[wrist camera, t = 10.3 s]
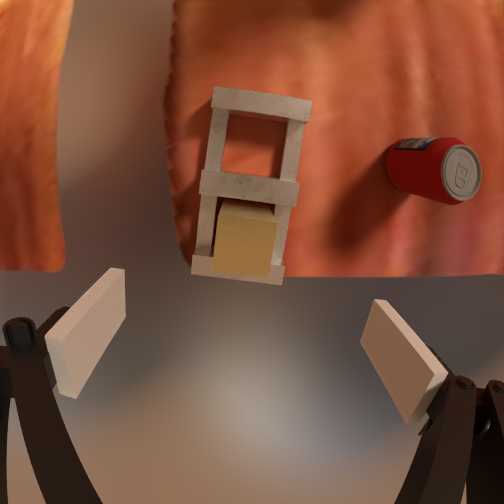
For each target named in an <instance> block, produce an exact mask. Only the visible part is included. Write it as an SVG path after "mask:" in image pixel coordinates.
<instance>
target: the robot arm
mask: <svg viewBox="0 0 504 504" xmlns="http://www.w3.org/2000/svg"><path fill="white" fill-rule="evenodd" d="M124 271H125V270H123V269H117V268H110V269H109V270H108V271H107V272H106V273H105V274H104V275H103V276H102V277H101V278H100V279H99V280H98V281H97V282H96V283H95V284H94V285H93V286H92V287H91V288H90V289H89V290H88V291H87V292H86V293H85V294H84V295H83V296H82V297H81V298H80V299H79V300H78V301H77V302H76V303H75V304H74V305H73V306H72V307H71V308H70V307H63V308H60V309H58V310H56V311H55V312H54V313H53V314H52V315H51V316H50V318H48V319H47V320H46V321H45V323H43V324H42V325H41V326H40V327H39V328H38V329H37V330H36V327H35V324H34V322H33V321H32V320H31V319H29V318H25V317H17V318H13V319H11V320H9V321H7V322H6V323H5V324H4V325H3V333H4V337H5V340H6V344H7V346H0V504H8V497H7V476H6V475H7V474H6V473H7V471H6V457H7V432H8V417H9V408H10V399H11V398H15V402H16V406H17V412H18V416H19V421H20V425H21V429H22V433H23V437H24V441H25V444H26V447H27V451H28V454H29V458H30V461H31V464H32V467H33V470H34V473H35V476H36V479H37V482H38V484H39V487H40V489H41V492H42V495H43V497H44V500H45V502H46V504H103V503H102V502H101V500H100V498H99V497H98V495H97V493H96V491H95V489H94V487H93V486H92V484H91V482H90V480H89V478H88V476H87V474H86V472H85V470H84V468H83V466H82V464H81V462H80V459H79V457H78V455H77V453H76V451H75V448H74V446H73V444H72V442H71V439H70V437H69V434H68V432H67V430H66V427H65V424H64V422H63V420H62V417H61V414H60V411H59V409H58V406H57V403H56V400H55V397H54V394H53V391H52V389H53V388H54V386H55V384H56V383H57V386H58V389H59V393H60V394H62V395H65V396H68V397H71V398H74V399H77V397H78V395H79V393H80V392H81V390H82V388H83V386H84V385H85V383H86V381H87V379H88V378H89V376H90V374H91V372H92V371H93V369H94V367H95V366H96V364H97V362H98V361H99V359H100V357H101V356H102V354H103V352H104V351H105V349H106V347H107V346H108V344H109V343H110V341H111V339H112V338H113V336H114V335H115V333H116V331H117V330H118V328H119V327H120V325H121V323H122V322H123V320H124V319H125V317H126V313H125V272H124ZM360 343H361V345H362V346H363V348H364V350H365V352H366V353H367V355H368V356H369V358H370V360H371V362H372V364H373V365H374V367H375V369H376V371H377V372H378V374H379V376H380V378H381V379H382V381H383V383H384V385H385V387H386V388H387V390H388V392H389V394H390V395H391V397H392V399H393V401H394V403H395V405H396V406H397V408H398V410H399V412H400V414H401V416H402V417H403V419H404V421H405V423H406V424H409V423H415V422H419V421H420V420H421V419H422V417H423V416H424V414H425V412H427V414H428V415H429V419H428V421H427V422H426V424H425V425H424V427H423V428H422V430H421V431H420V432H419V434H418V435H421V434H422V436H421V439H420V442H419V445H418V448H417V451H416V453H415V456H414V459H413V461H412V464H411V466H410V469H409V471H408V474H407V476H406V479H405V481H404V483H403V486H402V488H401V490H400V492H399V494H398V497H397V499H396V501H395V503H394V504H460V503H461V499H462V495H463V491H464V487H465V482H466V495H467V504H504V383H503V382H501V381H497V380H491V381H489V383H488V384H487V386H486V388H485V389H482V388H476V385H475V384H474V382H473V381H471V380H470V379H469V378H467V377H464V376H455V375H454V374H453V373H452V371H451V370H450V369H449V368H448V367H447V365H446V364H445V363H444V362H442V359H441V358H440V357H438V355H437V354H436V352H435V351H434V350H433V349H432V348H430V347H429V346H427V345H426V344H424V343H423V342H422V341H421V339H420V338H419V337H418V336H417V335H416V334H415V333H414V331H413V330H412V329H411V328H410V327H409V326H408V324H407V323H406V322H405V321H404V320H403V319H402V318H401V317H400V315H399V314H398V313H397V312H396V311H395V310H394V309H393V308H392V307H391V305H390V304H389V303H388V302H387V301H386V300H376V299H374V301H373V305H372V308H371V311H370V314H369V317H368V320H367V323H366V326H365V329H364V332H363V335H362V338H361V341H360ZM489 424H490V426H489V429H487V427H488V425H489Z"/></svg>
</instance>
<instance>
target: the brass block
mask: <svg viewBox="0 0 504 504" xmlns="http://www.w3.org/2000/svg"><path fill="white" fill-rule="evenodd" d="M277 225H278V222H277V221H276V219H275V217H274V215H273V213H272V212H271V210H270V208H269V206H268V205H267V204H260V203H253V202H245V201H238V200H230V199H224V201H223V204H222V206H221V209H220V212H219V214H218V221H217V230H216V238H215V247H214V256H213V265H212V271H215V272H223V273H231V274H239V275H248V276H256V277H264V278H268V277H269V272H270V266H271V260H272V254H273V248H274V242H275V237H276V231H277Z"/></svg>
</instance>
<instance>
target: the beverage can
mask: <svg viewBox="0 0 504 504" xmlns="http://www.w3.org/2000/svg"><path fill="white" fill-rule="evenodd" d="M385 166H386V172H387V175H388V178H389V180H390V181H391V183H392V184H393V185H394V186H395V187H396V188H398V189H399V190H402V191H405V192H408V193H411V194H414V195H418V196H421V197H425V198H428V199H431V200H435V201H438V202H442V203H445V204H449V205H456V204H459V203H462V202H463V201H466V200H469V199H470V198H472V197H473V196H474V195H475V194H476V192H477V191H478V189H479V186H480V183H481V175H482V173H481V165H480V161H479V159H478V157H477V155H476V153H475V152H474V151H473V150H472V149H471V148H469V147H468V146H467V145H466V144H464V143H463V142H462V141H460V140H458V139H456V138H411V139H401V140H399V141H397V142H395V143H394V144H393V145H392V146H391V147H390V149H389V151H388V153H387V156H386V162H385Z"/></svg>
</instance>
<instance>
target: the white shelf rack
mask: <svg viewBox="0 0 504 504" xmlns="http://www.w3.org/2000/svg"><path fill="white" fill-rule="evenodd" d="M311 107H312V101H308V100H304V99H299V98H293V97H288V96H282V95H277V94H271V93H264V92H257V91H250V90H243V89H235V88H226V87H216V86H214V90H213V96H212V102H211V108H212V110H213V113H212V119H211V126H210V133H209V140H208V147H207V154H206V161H205V169H202V172H201V180H200V188H199V194H201V202H200V211H199V220H198V230H197V240H196V248H195V251H194V253H193V256H192V268H191V274H195V275H201V276H210V277H217V278H225V279H233V280H242V281H250V282H258V283H267V284H276V285H282V280H283V275H284V270H285V264H284V262H283V259H282V257H283V252H284V246H285V241H286V235H287V229H288V224H289V218H290V212H291V206H292V207H296V203H297V197H298V191H299V185H300V183H298V182H296V176H297V170H298V163H299V157H300V150H301V144H302V137H303V131H304V124H306V123H308V122H309V121H310V114H311ZM229 114H232V115H240V116H247V117H255V118H261V119H268V120H274V121H280V122H286V123H287V124H286V131H285V138H284V144H283V151H282V157H281V164H280V170H279V177H278V178H276V177H269V176H262V175H256V174H248V173H241V172H233V171H225V170H221V169H222V162H223V154H224V147H225V140H226V134H227V127H228V120H229ZM218 196H220V197H228V198H236V199H243V200H251V201H258V202H265V203H272V204H274V209H273V215H274V217H275V219H276V221H277V222H278V225H277V231H276V237H275V242H274V248H273V254H272V260H271V266H270V272H269V277H268V278H264V277H256V276H248V275H239V274H231V273H223V272H215V271H212V265H213V256H214V247H215V246H212V242H213V233H214V224H215V216H216V208H217V200H218Z"/></svg>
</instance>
